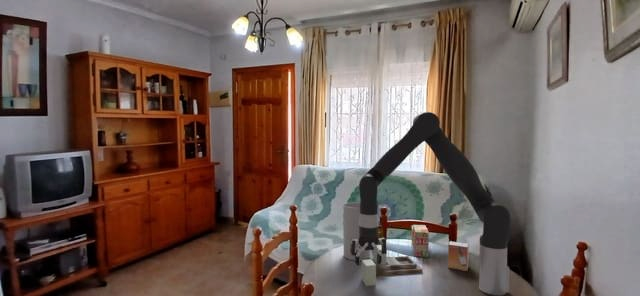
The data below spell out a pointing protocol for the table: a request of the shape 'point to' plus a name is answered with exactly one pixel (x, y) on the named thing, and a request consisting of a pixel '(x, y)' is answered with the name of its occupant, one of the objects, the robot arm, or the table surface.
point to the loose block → (368, 272)
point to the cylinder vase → (352, 230)
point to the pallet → (400, 271)
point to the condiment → (380, 233)
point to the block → (384, 257)
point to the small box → (458, 255)
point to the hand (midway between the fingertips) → (368, 264)
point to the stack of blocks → (420, 240)
